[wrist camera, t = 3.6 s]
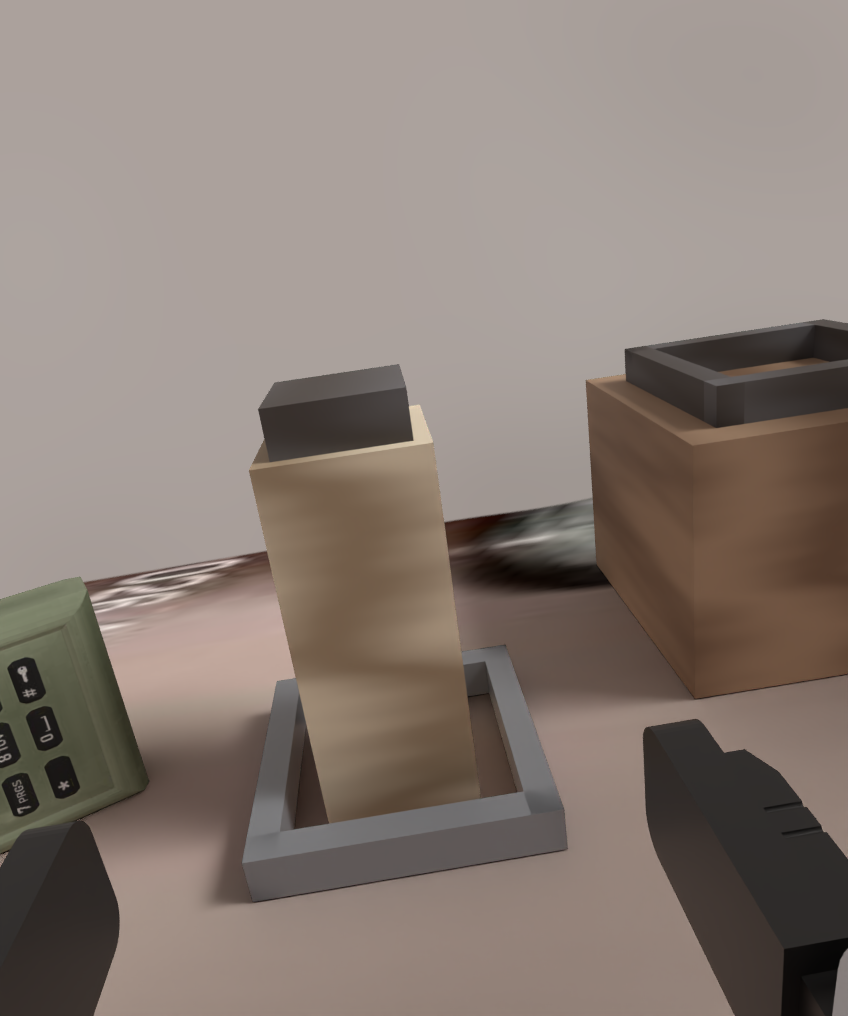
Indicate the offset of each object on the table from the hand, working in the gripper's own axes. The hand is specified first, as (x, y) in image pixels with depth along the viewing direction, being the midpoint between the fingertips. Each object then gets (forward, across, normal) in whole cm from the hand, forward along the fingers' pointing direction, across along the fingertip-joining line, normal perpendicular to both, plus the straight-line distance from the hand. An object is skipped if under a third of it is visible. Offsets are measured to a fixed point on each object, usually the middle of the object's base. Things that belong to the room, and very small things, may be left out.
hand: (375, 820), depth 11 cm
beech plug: (+9, 0, +6) cm, 11 cm away
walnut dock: (+15, -14, +6) cm, 21 cm away
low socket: (+9, 0, +6) cm, 11 cm away
